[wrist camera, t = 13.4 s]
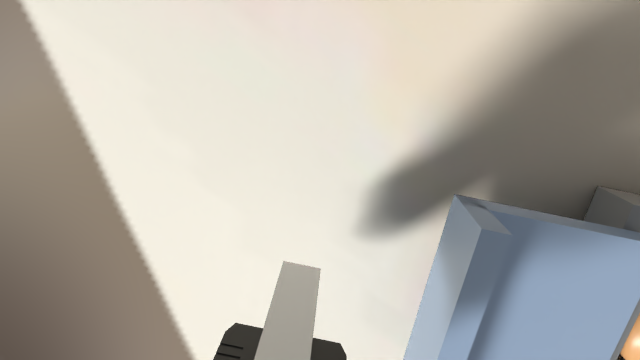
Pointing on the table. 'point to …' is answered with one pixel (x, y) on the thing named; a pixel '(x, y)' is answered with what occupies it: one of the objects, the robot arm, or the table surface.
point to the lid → (525, 287)
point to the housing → (628, 214)
